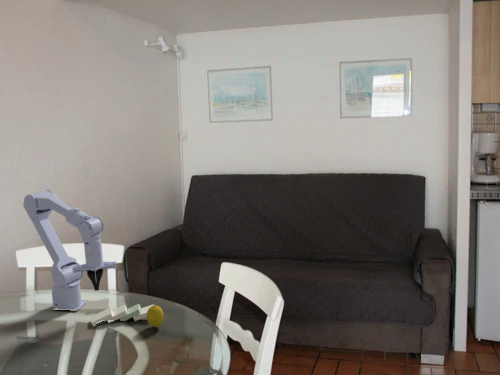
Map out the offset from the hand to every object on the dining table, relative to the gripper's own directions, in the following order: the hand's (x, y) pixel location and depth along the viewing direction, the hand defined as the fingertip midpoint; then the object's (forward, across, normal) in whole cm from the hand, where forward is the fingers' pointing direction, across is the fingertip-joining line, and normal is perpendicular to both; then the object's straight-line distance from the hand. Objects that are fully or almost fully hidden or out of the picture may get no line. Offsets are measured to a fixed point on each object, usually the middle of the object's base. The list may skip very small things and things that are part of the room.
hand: (96, 289), depth 186 cm
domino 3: (+9, +8, -6) cm, 13 cm away
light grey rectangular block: (+9, -2, -7) cm, 11 cm away
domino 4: (+8, +12, -7) cm, 16 cm away
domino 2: (+9, +3, -6) cm, 11 cm away
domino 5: (+9, +15, -6) cm, 18 cm away
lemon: (+10, +19, -16) cm, 26 cm away
